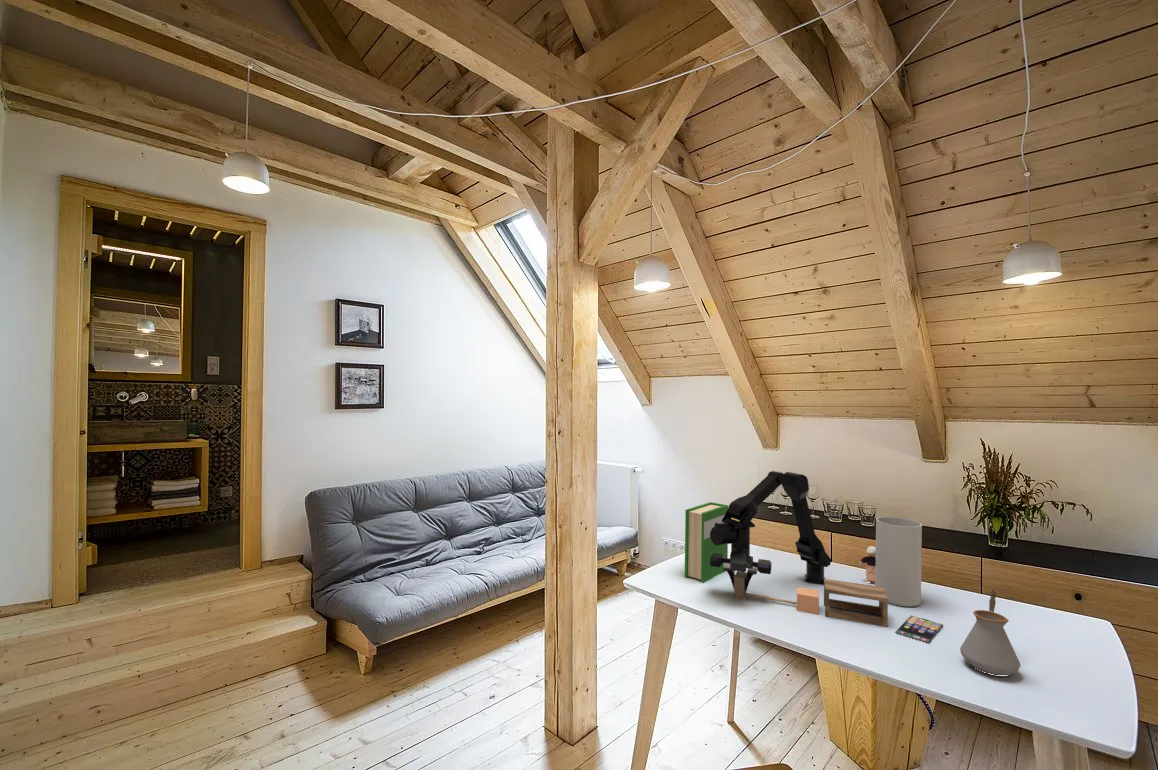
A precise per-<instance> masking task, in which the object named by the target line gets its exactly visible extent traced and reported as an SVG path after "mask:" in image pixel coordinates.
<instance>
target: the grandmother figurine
mask: <svg viewBox="0 0 1158 770" xmlns="http://www.w3.org/2000/svg"><path fill="white" fill-rule="evenodd" d="M865 552H866V553H867V554H868V556H864V557H862V558H860V561H859V563H858V565H859V567H860V566H861V567H862V566H863V564H866V567H865V576H866V578H865V579H866V580H867V582H872V583H873V584H874V583H875V579H876V546H873V545H870V546H868V547H867V549H866V550H865ZM866 580H865V581H866Z"/></svg>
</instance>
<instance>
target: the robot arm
mask: <svg viewBox="0 0 1158 770" xmlns="http://www.w3.org/2000/svg"><path fill="white" fill-rule="evenodd" d="M809 485H810V484H809V478H808V477H807V476H806V475H804V474H801V473H796V472H790V471H786V472H784V473H783V472H782V471H781V472H780V471H774V470H772V471H769V472H768V473H767V476H766V477H764V478H763V480H761V481H760V482H758V484H757V485H756V486H755V487H754V488H753V489H751V490H750V491H749V492H748V493H747V494H745V495H743V496H740V497H737V498H736V499H734V500H733V501H731V502H730V503H729V504H728V510H727V511H726V513H725V515H724V517H723V519H722V522H723V523H715V527H713V528H712V529H711V532H710V538H711V541H712V542H713V543H714V544H715V545H717V546H718V545H724V544H728V545H730V544H731V546H730V547H731V548H730V549H731V551H730V555H729V557H728V558H724V554H717V553H713V554H712V555H711V557H710V566H713V567H720V566H721V565H722V564H723V565H724V567H723V570H725V572H726V573H727V574H728V576H729V578H730V581H731V585H732V587H733V589H734V576H735V574H736V572H737V571H741V572H747V576H746V583H745V591H746V592H747V590H748V589H749V588H748V587H749V585H750V581H751V580H752V577H753V575H754V576H755V575H757V574H758V573H759V574H763V575H771V574H772V569H773V568H772V562H771V560H770V559H762V558H758V559H757V560H758V561H754V557H753V556H751V549H750V548H751V545H750V544H751V528H755V527H756V525H755V523H753V521H752V520H753V519H754V517H755V516H756V514H758V509H759V506H760V505H761V504H762V503H763V502H764V501H765V500H767V498H768V497H770V496H771V495H772V494H773V493H774V492H775V491H776V490H777V489H778V488H779V487H780V486H782V490H783V491H784V493H785V494H786V495H787V496H788V497H789V498H790V500H791V505H792V509H793V513H794V517H795V521H796V525H797V529H798V533H799V537H798V540H797V541H795V543H794V544H795V546H796V553H798V554H799V557H800V560H801V561H805V563H806V569H805V570H806V574H804V580H805V582H808V583H814V584H821V585H824V579H826V577H825V567H826V568H828V567H829V566H830V565H831V563H832V558H831V557H830V556H829V554H828V553H827V552H826V550H825V547H824V544H823V542H822V541H821V540H820V538H819V537H818V536H817V535H816V532H815V529H814V525H813V524H814V523H813V519H812V515H811V511H810V507H809V504H808V499H807V495H808V493H809V490H810V487H809Z"/></svg>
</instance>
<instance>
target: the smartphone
mask: <svg viewBox="0 0 1158 770" xmlns="http://www.w3.org/2000/svg"><path fill="white" fill-rule="evenodd" d="M942 627H943V628H944V624H942V623H940V622H936V621H933V620H929V619H926V618H923V617H917V616H915V615H910V616H909V617H907V618H906V620H905V621H904V622H903V623H902V624H901V625H900V626H899V627H898V628H897V629H896V631H895V632H894V634H895V633H896V635H900V636H902V635H903V636H902V637H905V638H908V637H909V638H908V639H911V638H912V639H911V640H914V639H915V640H914V641H918V640H919V641H918V642H921V641H922V643H924V642H925V643H924V644H927V643H929V644H930V643H931V642H932V641H933V640H934V639H935V638H936V636H937V635H938V634H937V633H940V631H941V630H942V629H943V628H942ZM941 628H942V629H941ZM940 629H941V630H940ZM936 634H937V635H936ZM933 638H934V639H933ZM932 639H933V640H932ZM931 640H932V641H931Z"/></svg>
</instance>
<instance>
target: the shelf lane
mask: <svg viewBox="0 0 1158 770" xmlns="http://www.w3.org/2000/svg"><path fill="white" fill-rule="evenodd" d="M830 594H832V595H839V596H846V597H853V598H858V599H865V600H871V601H876V602H877V601H878V605H872V604H865V603H859V602H853V601H846V600H840V599H833V598H830ZM888 604H889V603H888V598H887V595H886V593H885V591H884V588H883V587H879V586H875V585H872V584H864V583H858V582H851V581H843V580H835V579H829V578H825V579H824V584H823V606H824V617H827V618H834V619H839V620H844V621H851V622H856V623H857V622H858V623H862V624H869V625H875V626H879V627H881V626H882V627H887V628H888V622H889V621H888V619H889V618H888V613H889V612H888V611H889V610H888V609H889V608H888V606H889V605H888ZM832 608H838V609H843V610H837V609H832ZM844 609H845V610H850V611H855V610H856V612H862V613H863V612H864V613H867V614H868V615H867V614H862V613H856V612H850V611H844ZM869 614H874V615H875V614H876V615H879V616H874V615H869Z"/></svg>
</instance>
